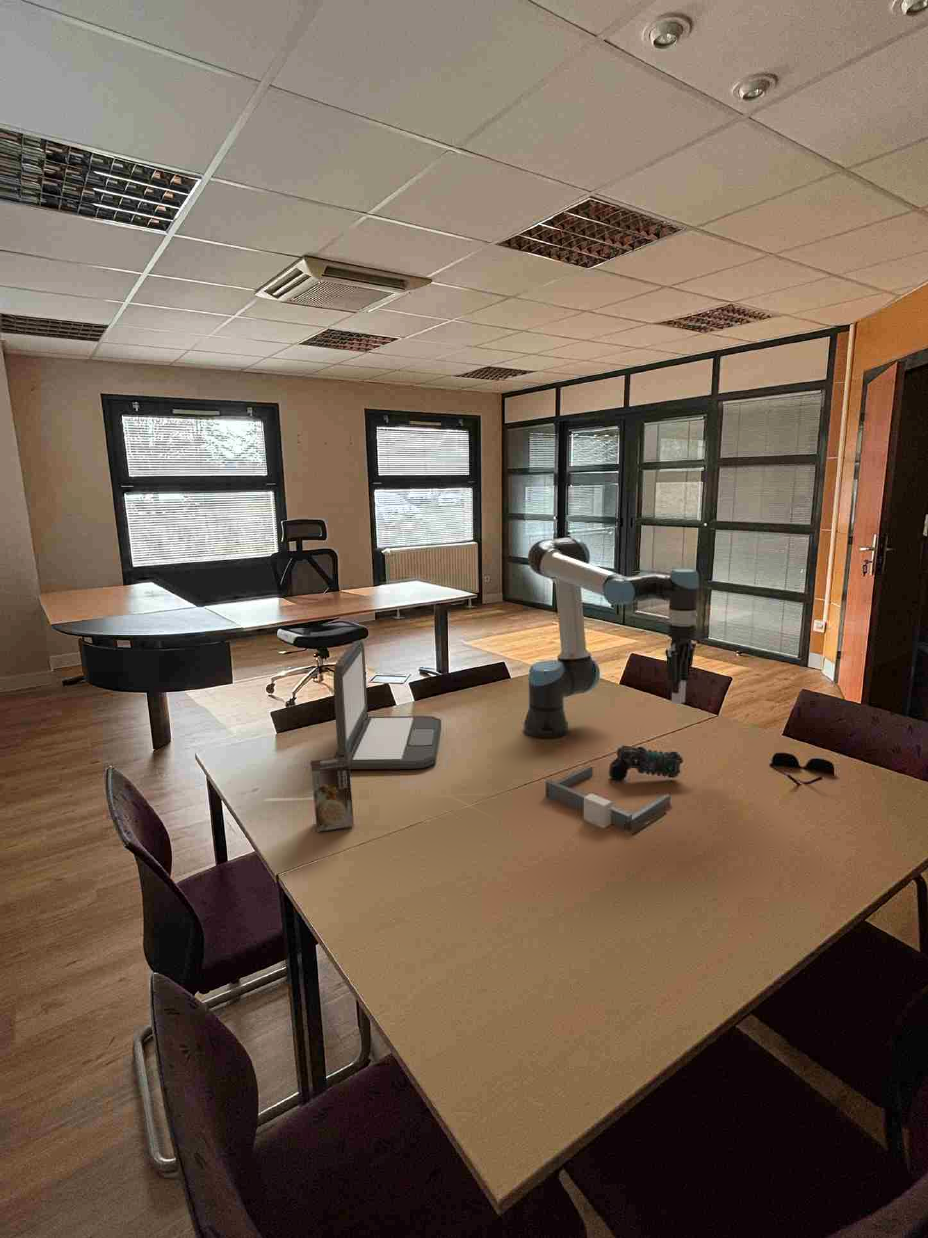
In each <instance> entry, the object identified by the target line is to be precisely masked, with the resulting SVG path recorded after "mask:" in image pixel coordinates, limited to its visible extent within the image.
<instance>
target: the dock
mask: <svg viewBox="0 0 928 1238" xmlns="http://www.w3.org/2000/svg"><path fill="white" fill-rule="evenodd" d="M593 768H594V767H593V766H592V765H590V764H589V765H587V766H585V767H583V768H581V769H579V770H577V771H574V772H572V773H571V774H568V775H567V776H564V777H562V778H561V779H559V780H556V781H553V780H552V779H548V780H546V781H545V796H547V797H548V798H550V799H553V800H555V801H558V802H560V803H562V804H565V805H567V806H569V807H571V808H573V809H575V810H577V811H580V812H582V813H583V820H584V821H586V822H589V823H591V824H593V825H595V826H597V827H600V828H602V829H604V828H606V827H608V826H609V825H613V826H616V827H618V828H619V829H620V828H621V829H622V830H625V831H627V832H629V831H630V830H632V829H634V828H635V827H637V826H638V825H639V824H641V823H642V822H644V821H646V820H647V819H649V818H651V817H652V816H653V815H654V814H657V813H658V812H660V811H661V810H663V809H664V808H665V807H668V806H669V805H670V804H671V795H669V794H666V793H665V794H664V795H662V796H661V797H659V798H658V799H656V800H654V801H653V802H651V803H650V804H648V805H646V806H645V807H643V808H642V809H640V810H638V811H637V812H635V813H633V814H632V813H630V812H628V811H625V810H623V809H621V808H618V807H616V806H613V805H612V804H613V803H612V802H613V801H611V800H609V799H606V798H604V797H601V796H598V795H596V794H594V793H589V794H588V795H587V794H584V793H583V792H580V791H577V790H575V789H573V788H570V787H572V786H573V785H575V784H577V783H580V782H581V781H583V780H584V779H585V780H586V779H587V778H588V777H590V776H593V774H594V773H593V770H594V769H593ZM666 814H667V812H666V811H665V810H664V811H663V812H661V813H660V814H658V815H656V816H654V817H653V818H652V819H650V820H649V821H646V822H645V823H644V824H642V825H641V826H639V827H638V828H636V829H635V830H634V831H631V833H630V834H631V836H635V835H637V834H638V833H640V832H641V831H642V830H644V829H646V828H647V827H649V826H650V825H652V824H653V823H655V822H656V821H658V820H659V819H661V818H662V817H663V816H665V815H666Z"/></svg>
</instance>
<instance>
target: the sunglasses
mask: <svg viewBox="0 0 928 1238" xmlns="http://www.w3.org/2000/svg"><path fill="white" fill-rule="evenodd" d="M768 765H769V768H772V769H774V770H775V771H777V772H779V773H781V774H783V775H785V776H786V777H787V778H788V779H789V780H790V781H792V782H793V783H795V784H796V785H797V786H799V785H800V786H802V785H801V782H802V784H804V785H811V784H813V783H817V782H820V781H821V780H823V776H822V775H821V776H819V777H816V778H815V779H811V780H810V781H802V780H799V779H796V778H795V777H793V776H791V774H787V773H785V772H783V771H782V770H779V768H776V767H780V766H784V767H785V768H790V769H791V768H792V769H799V768H800V769H801V768H802V769H803V770H807V771H812V772H818V773H822V774H827V775H832V776H835V775H836V774H835V765H834V764H833V762H832V761H829V760H827V759H825V758H819V757H817V758H816V757H814V758H810V759H809V760H808V761H807V762H806V764H805V765H804V766H801V765H800V763H799V760H798V758H797V756H795V755H794V754H791V753H788V752H776V753H774V754H773V755H772V758H771V762H770V763H769V764H768ZM784 767H783V768H784ZM795 779H796V780H795ZM799 781H800V782H799Z"/></svg>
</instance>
